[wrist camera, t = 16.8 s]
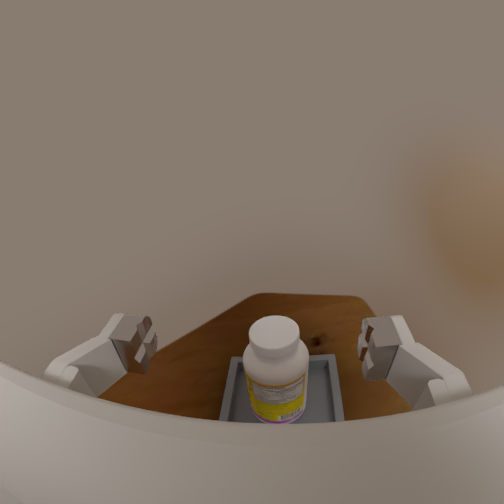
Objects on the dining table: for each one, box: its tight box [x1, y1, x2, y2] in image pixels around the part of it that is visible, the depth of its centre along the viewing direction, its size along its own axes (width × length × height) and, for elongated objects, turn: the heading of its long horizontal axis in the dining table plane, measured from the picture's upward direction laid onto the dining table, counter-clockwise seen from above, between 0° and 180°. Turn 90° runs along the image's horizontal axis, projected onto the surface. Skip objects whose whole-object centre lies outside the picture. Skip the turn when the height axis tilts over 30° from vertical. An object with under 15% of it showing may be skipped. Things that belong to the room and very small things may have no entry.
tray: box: [219, 354, 345, 424], centre depth 31 cm, size 14×14×3 cm
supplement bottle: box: [243, 316, 309, 424], centre depth 28 cm, size 7×7×13 cm
